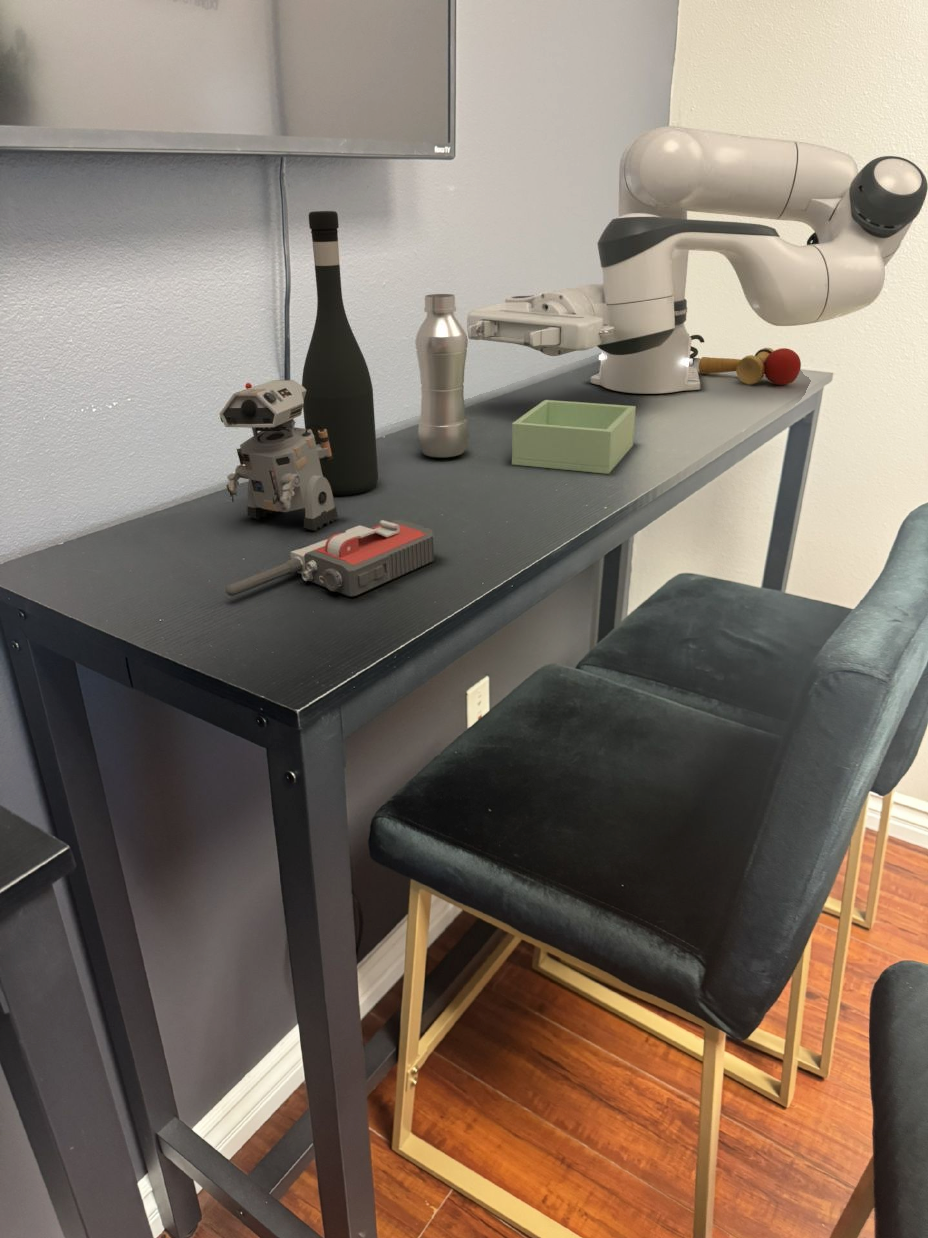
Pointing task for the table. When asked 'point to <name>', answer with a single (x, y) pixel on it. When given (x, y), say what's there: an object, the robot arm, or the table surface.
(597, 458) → the bin
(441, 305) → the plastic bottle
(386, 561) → the walkie-talkie
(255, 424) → the figurine
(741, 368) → the kendama
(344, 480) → the wine bottle
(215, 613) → the table surface
